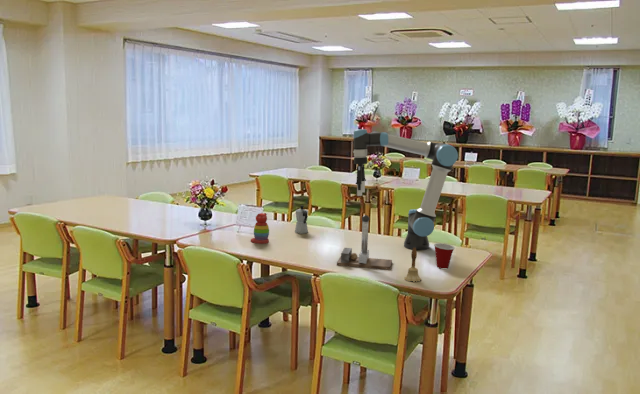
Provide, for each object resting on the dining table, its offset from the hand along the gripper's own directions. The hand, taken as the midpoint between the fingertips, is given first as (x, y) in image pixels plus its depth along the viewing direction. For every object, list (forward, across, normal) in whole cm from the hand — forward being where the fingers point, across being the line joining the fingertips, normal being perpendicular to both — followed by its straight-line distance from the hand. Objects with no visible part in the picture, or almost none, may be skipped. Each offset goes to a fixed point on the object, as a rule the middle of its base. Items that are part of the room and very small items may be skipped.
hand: (361, 194), depth 310 cm
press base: (+34, +25, +4) cm, 43 cm away
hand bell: (+36, +46, +30) cm, 65 cm away
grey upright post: (+32, +25, +4) cm, 41 cm away
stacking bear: (+30, -4, -62) cm, 69 cm away
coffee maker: (+31, -36, -44) cm, 65 cm away
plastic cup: (+36, +20, +45) cm, 61 cm away
